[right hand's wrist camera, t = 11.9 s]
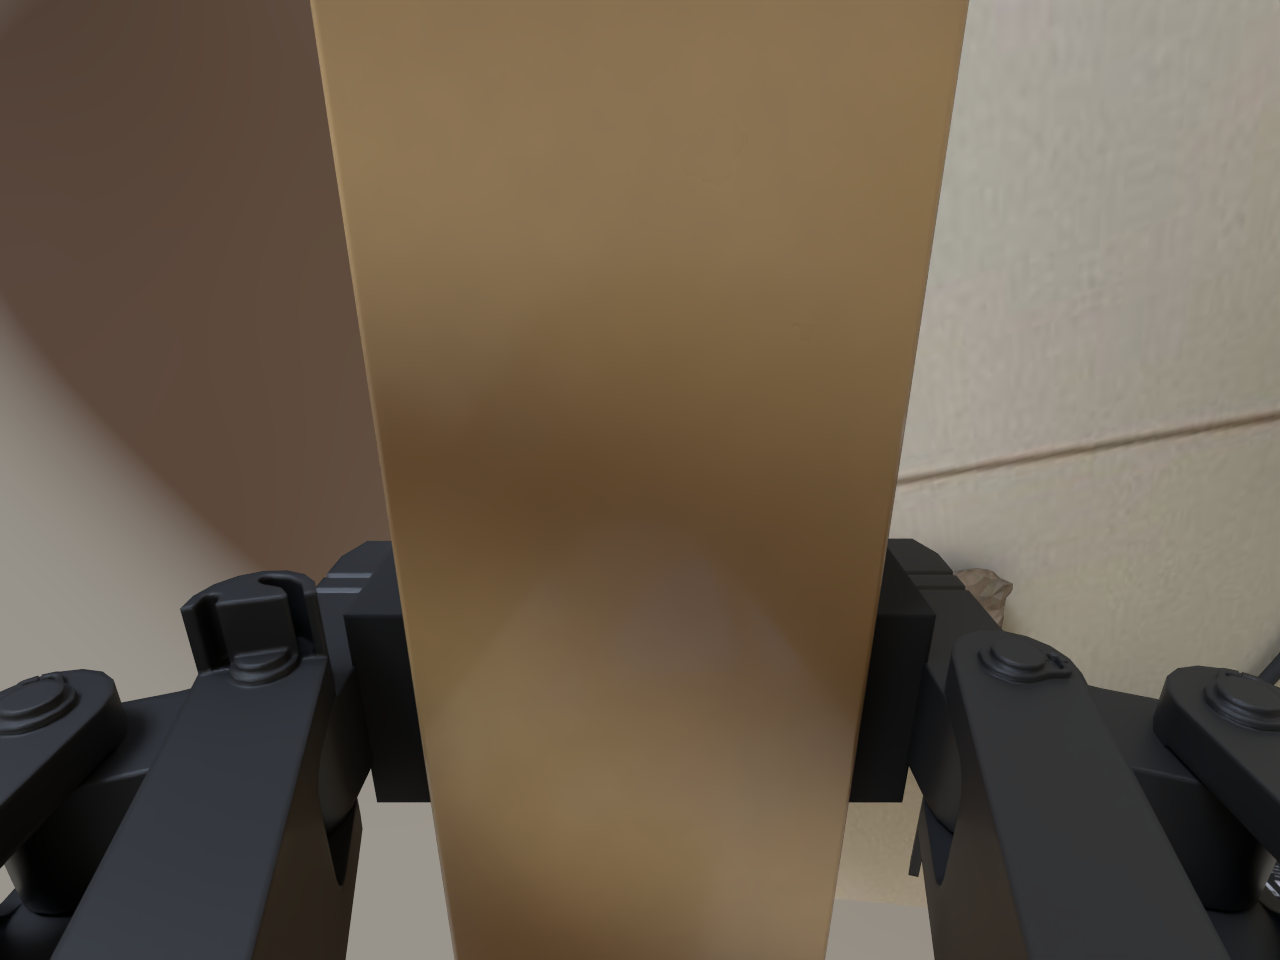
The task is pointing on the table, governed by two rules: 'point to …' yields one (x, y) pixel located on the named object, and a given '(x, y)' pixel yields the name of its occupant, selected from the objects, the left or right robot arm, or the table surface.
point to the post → (639, 435)
